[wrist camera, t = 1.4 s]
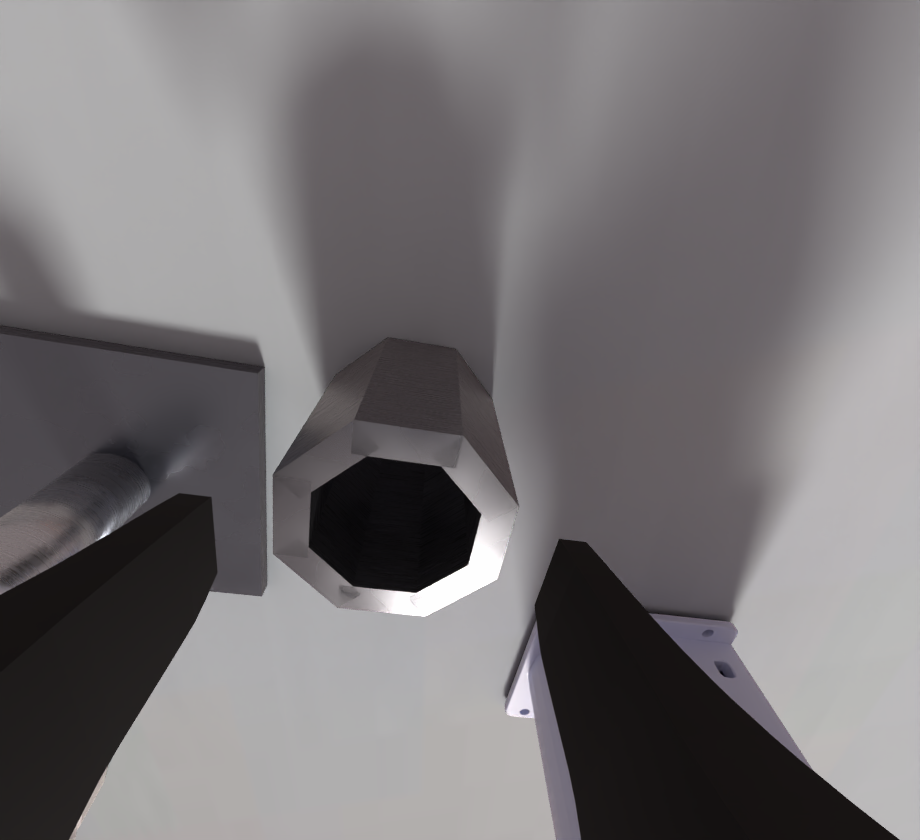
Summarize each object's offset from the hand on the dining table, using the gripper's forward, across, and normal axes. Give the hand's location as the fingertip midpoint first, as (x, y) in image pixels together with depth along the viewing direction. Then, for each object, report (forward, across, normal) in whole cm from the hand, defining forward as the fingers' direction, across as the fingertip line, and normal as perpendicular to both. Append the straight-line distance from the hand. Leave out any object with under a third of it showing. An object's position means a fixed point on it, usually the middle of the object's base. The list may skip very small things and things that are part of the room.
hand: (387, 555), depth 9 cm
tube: (+7, 0, 0) cm, 7 cm away
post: (+7, +10, +4) cm, 13 cm away
